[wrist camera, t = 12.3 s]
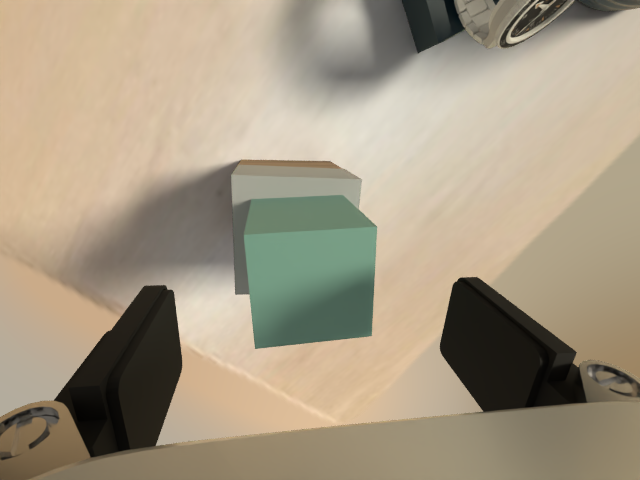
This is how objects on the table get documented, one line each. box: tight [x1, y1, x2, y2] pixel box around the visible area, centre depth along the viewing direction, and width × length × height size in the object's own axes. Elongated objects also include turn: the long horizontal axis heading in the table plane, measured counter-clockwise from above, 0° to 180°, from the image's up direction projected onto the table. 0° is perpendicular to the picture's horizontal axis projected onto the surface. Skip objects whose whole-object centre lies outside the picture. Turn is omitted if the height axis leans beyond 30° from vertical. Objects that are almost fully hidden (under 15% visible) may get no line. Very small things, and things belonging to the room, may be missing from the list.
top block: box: [231, 165, 362, 295], centre depth 20 cm, size 7×7×4 cm
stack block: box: [244, 195, 377, 349], centre depth 16 cm, size 5×5×6 cm
